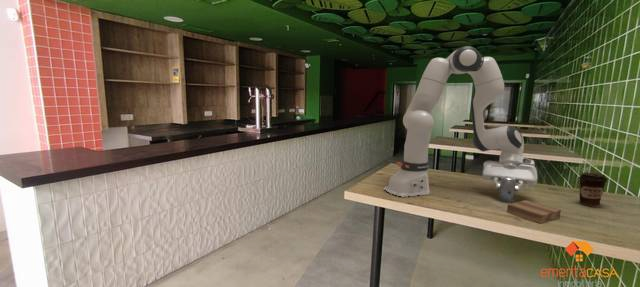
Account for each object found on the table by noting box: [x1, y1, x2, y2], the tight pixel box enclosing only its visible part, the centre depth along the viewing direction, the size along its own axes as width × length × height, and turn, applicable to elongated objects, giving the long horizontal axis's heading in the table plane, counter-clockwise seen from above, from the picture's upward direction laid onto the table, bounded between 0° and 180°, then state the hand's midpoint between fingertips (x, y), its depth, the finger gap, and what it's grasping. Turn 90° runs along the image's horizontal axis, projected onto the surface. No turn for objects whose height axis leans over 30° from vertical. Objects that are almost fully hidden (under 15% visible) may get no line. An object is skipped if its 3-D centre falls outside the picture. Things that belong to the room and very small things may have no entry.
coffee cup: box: [578, 172, 608, 208], centre depth 119 cm, size 9×8×13 cm
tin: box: [498, 176, 517, 204], centre depth 125 cm, size 6×6×10 cm
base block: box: [506, 199, 562, 224], centre depth 111 cm, size 12×12×3 cm
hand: (507, 189), depth 124 cm, fingers closed on tin, 5 cm apart
